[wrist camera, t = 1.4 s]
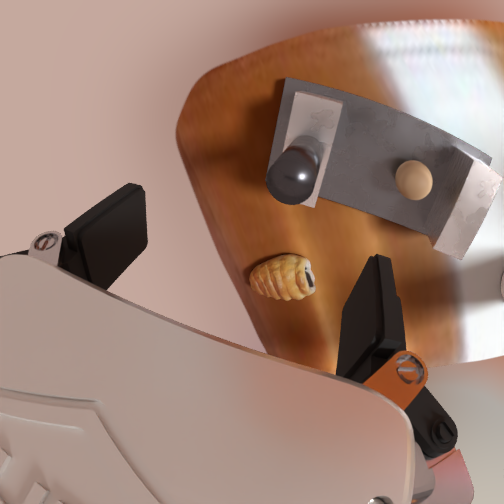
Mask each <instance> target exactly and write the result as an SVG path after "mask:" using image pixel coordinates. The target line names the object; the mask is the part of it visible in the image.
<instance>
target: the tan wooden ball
mask: <svg viewBox="0 0 504 504" xmlns="http://www.w3.org/2000/svg"><path fill="white" fill-rule="evenodd" d="M395 182H396V186H397V188H398V190H399V192H400V193H401V194H402V195H403V196H404V197H406V198H408V199H410V200H420V199H423V198H424V197H426V196H427V195H428V194H429V192H430V191H431V188H432V182H433V181H432V175H431V173H430V171H429V169H428V168H427V167H426V166H425V165H424V164H423V163H421V162H419V161H415V160H410V161H406V162H404V163H403V164H401V165H400V167H399V168H398V169H397V172H396V176H395Z"/></svg>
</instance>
